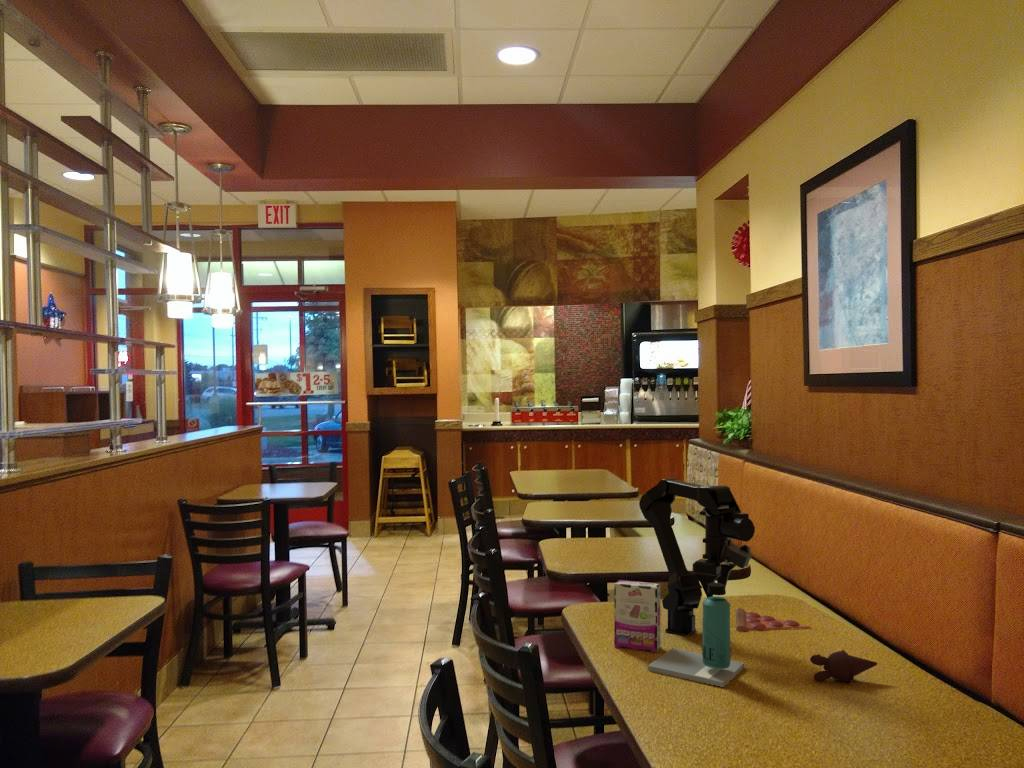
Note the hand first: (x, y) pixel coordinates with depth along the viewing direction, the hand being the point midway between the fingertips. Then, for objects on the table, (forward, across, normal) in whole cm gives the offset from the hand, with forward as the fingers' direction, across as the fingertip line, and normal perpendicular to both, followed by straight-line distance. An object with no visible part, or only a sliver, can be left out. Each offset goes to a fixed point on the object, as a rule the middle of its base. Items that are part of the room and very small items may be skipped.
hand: (716, 595), depth 199 cm
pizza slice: (+14, +27, -7) cm, 31 cm away
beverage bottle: (+12, -21, -7) cm, 25 cm away
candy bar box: (+13, -13, +16) cm, 24 cm away
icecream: (+13, -6, -32) cm, 35 cm away
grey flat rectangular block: (+13, -19, -2) cm, 23 cm away
